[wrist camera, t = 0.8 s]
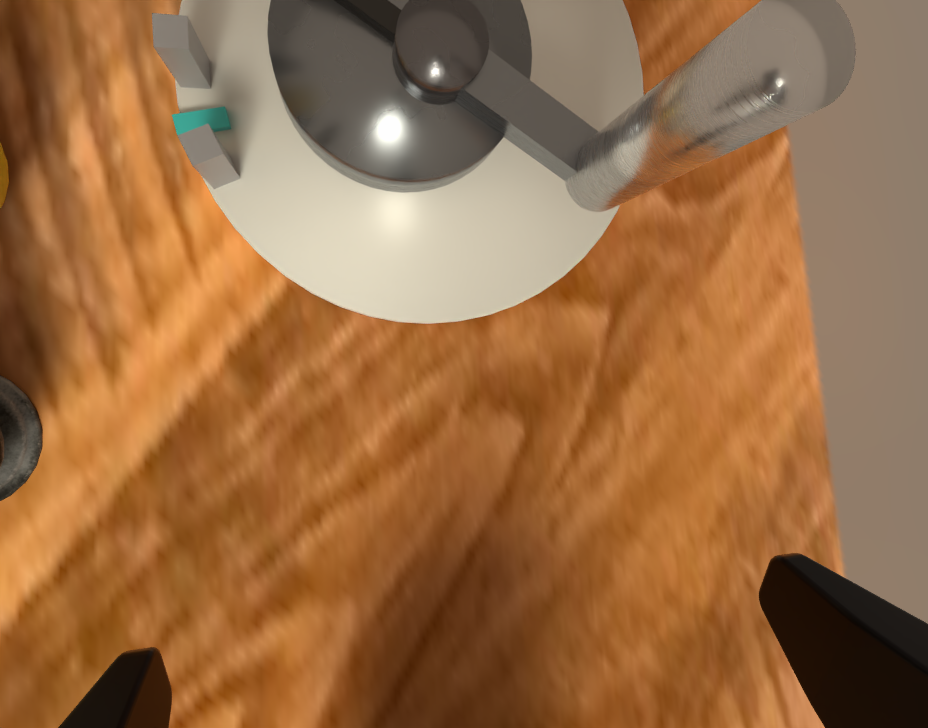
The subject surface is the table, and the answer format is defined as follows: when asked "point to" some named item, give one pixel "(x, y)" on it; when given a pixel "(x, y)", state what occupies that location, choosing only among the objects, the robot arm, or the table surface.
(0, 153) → the lemon
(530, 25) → the stand
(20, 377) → the table surface
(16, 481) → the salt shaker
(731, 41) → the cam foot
